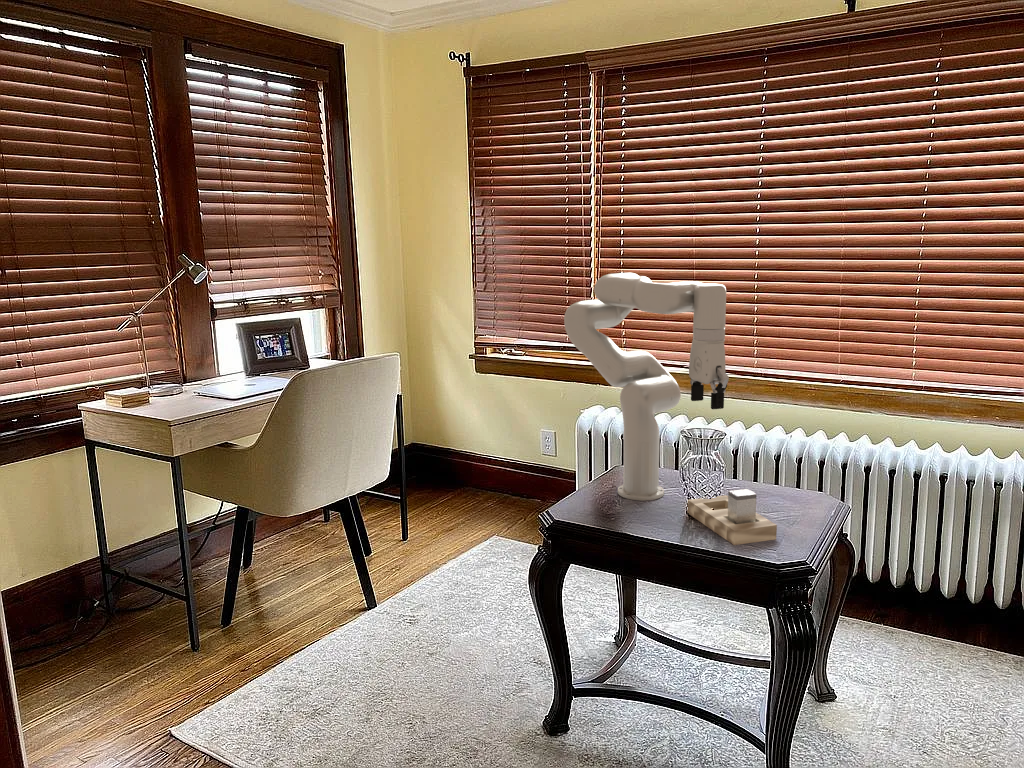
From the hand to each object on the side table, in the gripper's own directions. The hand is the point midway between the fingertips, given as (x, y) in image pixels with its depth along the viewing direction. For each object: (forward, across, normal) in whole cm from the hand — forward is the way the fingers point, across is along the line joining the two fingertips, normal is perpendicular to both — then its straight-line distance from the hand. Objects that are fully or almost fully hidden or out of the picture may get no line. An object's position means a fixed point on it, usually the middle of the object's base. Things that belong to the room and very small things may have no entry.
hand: (706, 404), depth 196 cm
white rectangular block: (+28, +14, +2) cm, 32 cm away
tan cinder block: (+28, +9, +2) cm, 30 cm away
